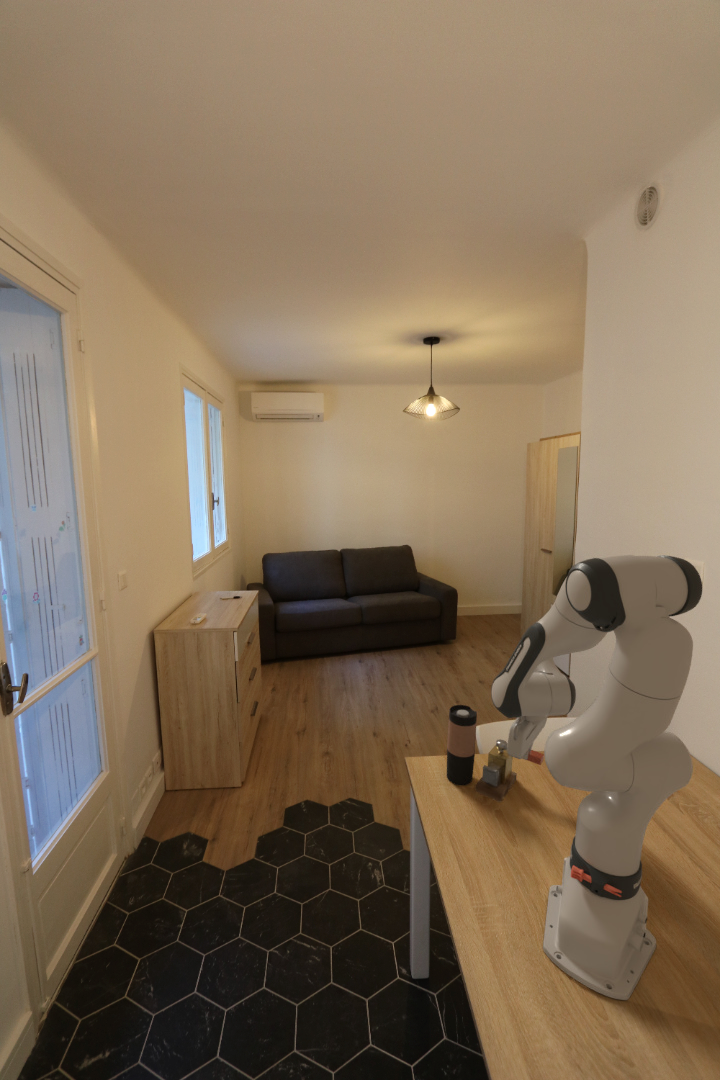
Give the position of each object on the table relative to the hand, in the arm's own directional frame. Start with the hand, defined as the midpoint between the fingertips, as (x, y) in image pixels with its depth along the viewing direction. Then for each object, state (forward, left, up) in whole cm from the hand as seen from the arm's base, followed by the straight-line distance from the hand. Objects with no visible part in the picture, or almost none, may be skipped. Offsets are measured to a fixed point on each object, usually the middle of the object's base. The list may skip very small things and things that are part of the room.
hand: (525, 756), depth 123 cm
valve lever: (+5, +3, -3) cm, 7 cm away
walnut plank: (+3, +8, -13) cm, 16 cm away
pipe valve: (+3, +8, -11) cm, 14 cm away
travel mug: (0, +18, -14) cm, 22 cm away
